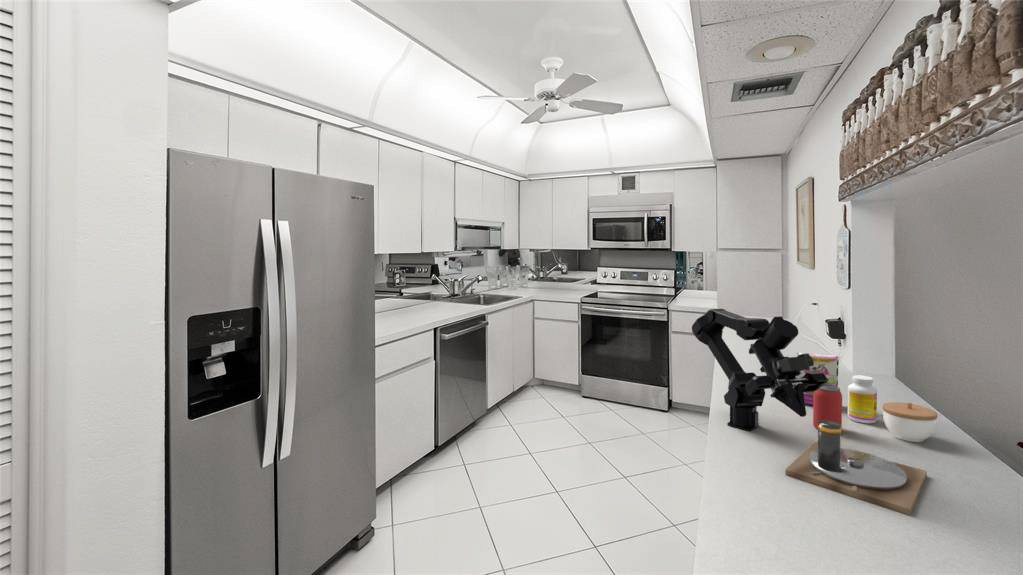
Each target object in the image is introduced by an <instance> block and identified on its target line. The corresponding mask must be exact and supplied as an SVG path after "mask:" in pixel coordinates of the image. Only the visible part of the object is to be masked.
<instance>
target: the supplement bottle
mask: <svg viewBox="0 0 1023 575" xmlns="http://www.w3.org/2000/svg"><path fill="white" fill-rule="evenodd" d="M851 380H852V383H851V384H849V385H848V386H847V418H848V419H850V421H853V422H856V423H861V424H875V423H876V422H877V412H878V407H877V406H878V390H877V389H876V387H874V386H873V383H874V378H873V377H871V376H866V375H859V374H855V375H852V377H851Z"/></svg>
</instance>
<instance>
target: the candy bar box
mask: <svg viewBox="0 0 1023 575" xmlns="http://www.w3.org/2000/svg"><path fill="white" fill-rule="evenodd" d="M807 353H808V354H809V355H810V356H811V357H812V359H813V362H814V365H813V366H810V370H802V371H800V372H801V374H800V375H799V376H796V379H798V378H802V377H803V376H804V375H805V374H806V373H810V372H821V373H824V374H825V376H826V377H827V379H828V382H826V383H825V384H826V385H833V386H836V387H839V360H840V359H839V357H838V355H835V354H834V355H832V354H821V353H820V354H819V353H809V352H807ZM807 353H806V352H796V357H798V355H802V354H807ZM813 394H814V392H804V402H805V406H806V405H807V406H813Z"/></svg>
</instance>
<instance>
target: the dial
mask: <svg viewBox="0 0 1023 575" xmlns="http://www.w3.org/2000/svg"><path fill="white" fill-rule="evenodd" d="M841 435H842V430H841V425H840V424H839V423H837V422H834V421H829V420H820V421H818V429H817V442H818V449H816V450H814V451H812V452H811V453H810V454H809V462H810V464H811V466H812V467H813V468H814V469H815V470H816V471H818V472H820V473H821V474H823V475H825V476H827V477H829V478H831V479H833V480H836V481H839V482H841V483H844V484H848V485H851V486H857V487H860V488H865V489H871V490H886V491H887V490H897V489H901V488H903V487H904V486H905V485H906V484H907V475H906V473H905V472H904V471H903V470H902V469H901V468H900V467H898V466H897V465H895V464H893V463H891V462H892V461H891V462H890V460H887V459H885V458H882V457H880V456H876V455H873V454H871V453H867V452H864V451H860V450H856V449H848V448H841V437H842V436H841Z"/></svg>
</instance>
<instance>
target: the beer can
mask: <svg viewBox="0 0 1023 575" xmlns="http://www.w3.org/2000/svg"><path fill="white" fill-rule="evenodd" d="M842 394H843V393H842V391H841V388H840V387H839V386H838V387H836V386H833V385H826V384H824V385H823V386H821V387H820V388H819V389H818V390H816V391H814V394H813V405H812V409H813V410H812V411H813V412H812V425H813V426H814V428H815V429H817V430H818V421H820V420H829V421H834V422H837V423H839V424H840V425H841V431H842V429H843V426H842V425H843V395H842Z"/></svg>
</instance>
